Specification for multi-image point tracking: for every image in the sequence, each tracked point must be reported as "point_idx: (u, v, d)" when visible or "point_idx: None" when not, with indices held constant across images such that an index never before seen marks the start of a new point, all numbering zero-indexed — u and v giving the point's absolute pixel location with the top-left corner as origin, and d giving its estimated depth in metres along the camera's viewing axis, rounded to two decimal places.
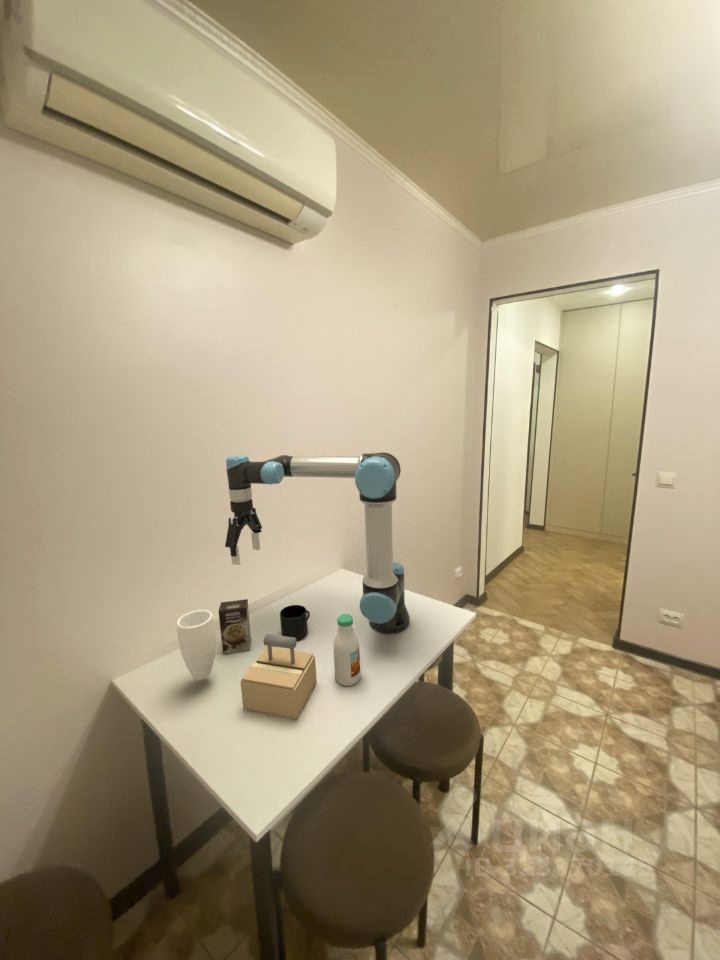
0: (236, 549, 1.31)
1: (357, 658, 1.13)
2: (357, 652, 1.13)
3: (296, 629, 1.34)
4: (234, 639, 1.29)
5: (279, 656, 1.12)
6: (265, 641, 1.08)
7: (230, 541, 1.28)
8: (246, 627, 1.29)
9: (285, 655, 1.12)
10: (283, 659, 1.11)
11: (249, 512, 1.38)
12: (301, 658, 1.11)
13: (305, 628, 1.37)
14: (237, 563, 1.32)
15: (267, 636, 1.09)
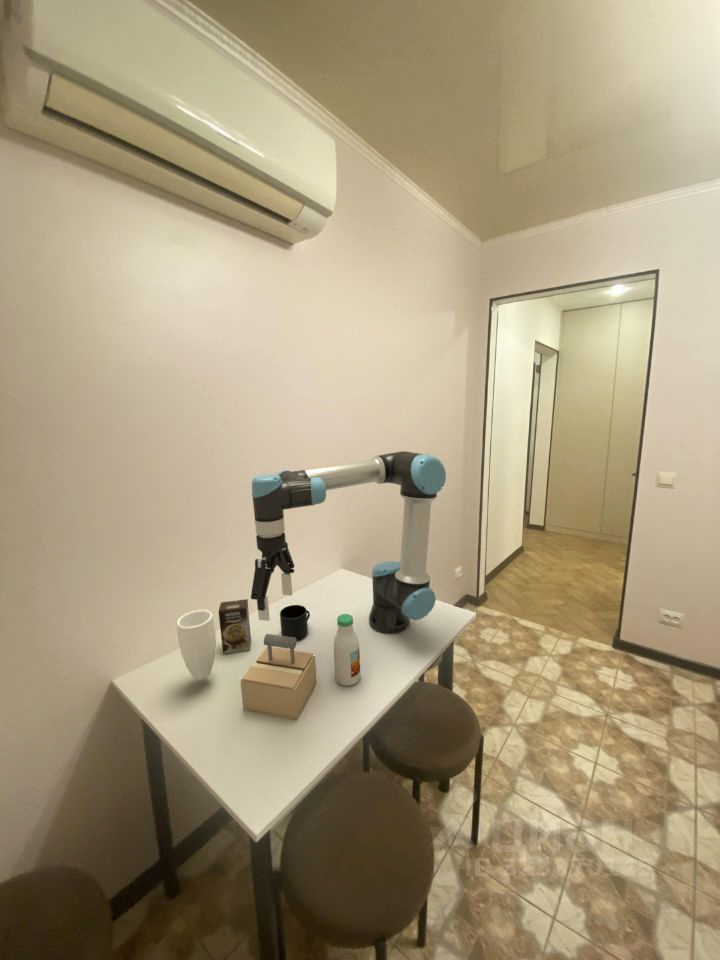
0: (265, 601, 0.99)
1: (357, 658, 1.13)
2: (357, 652, 1.13)
3: (296, 629, 1.34)
4: (234, 639, 1.29)
5: (279, 656, 1.12)
6: (265, 641, 1.08)
7: (257, 591, 0.96)
8: (246, 627, 1.29)
9: (285, 655, 1.12)
10: (283, 659, 1.11)
11: (280, 549, 1.06)
12: (301, 658, 1.11)
13: (305, 628, 1.37)
14: (266, 619, 1.00)
15: (267, 636, 1.09)
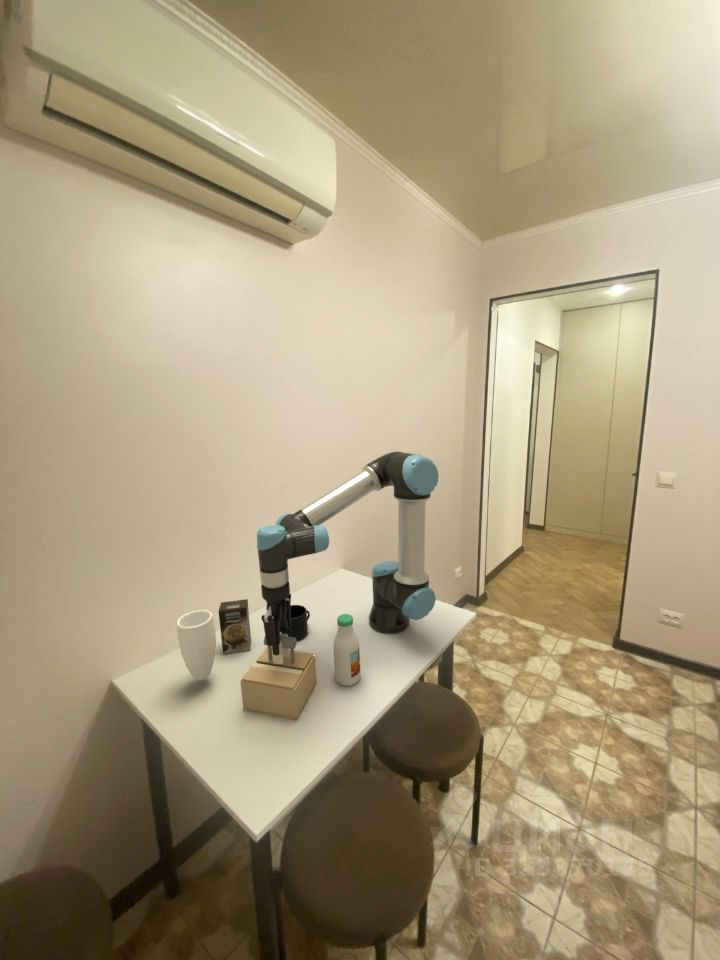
0: (279, 646, 1.06)
1: (357, 658, 1.13)
2: (357, 652, 1.13)
3: (296, 629, 1.34)
4: (234, 639, 1.29)
5: None
6: (265, 641, 1.08)
7: (272, 641, 1.03)
8: (246, 627, 1.29)
9: None
10: (283, 659, 1.11)
11: None
12: (301, 658, 1.11)
13: (305, 628, 1.37)
14: (280, 662, 1.07)
15: None
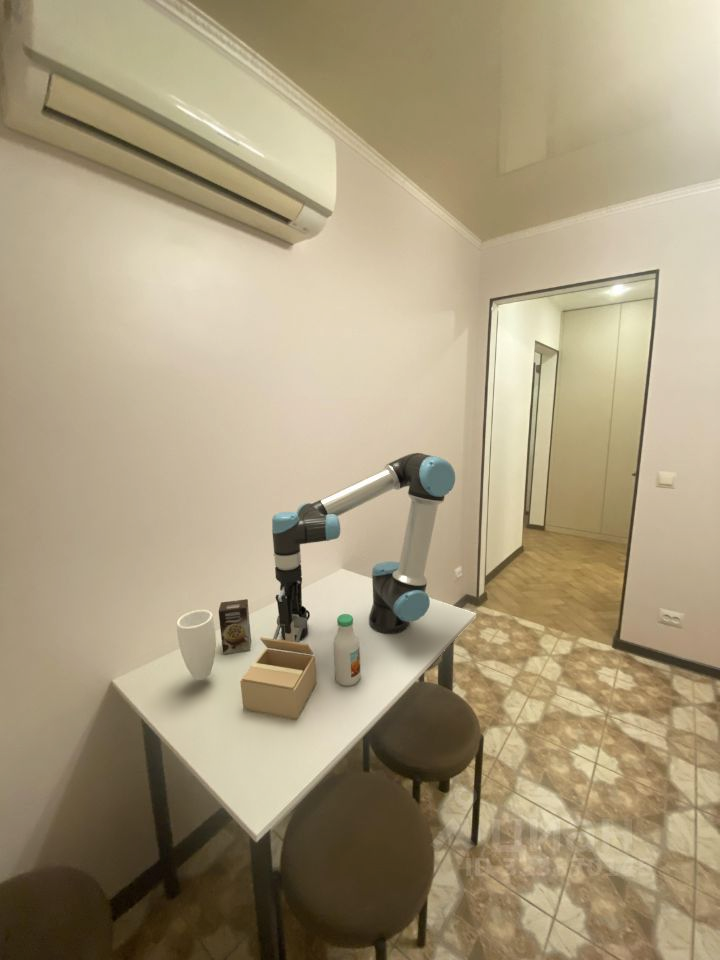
0: (291, 625, 1.14)
1: (357, 658, 1.13)
2: (357, 652, 1.13)
3: None
4: (234, 639, 1.29)
5: None
6: None
7: (284, 619, 1.10)
8: (246, 627, 1.29)
9: None
10: None
11: None
12: None
13: (305, 628, 1.37)
14: (291, 640, 1.15)
15: None
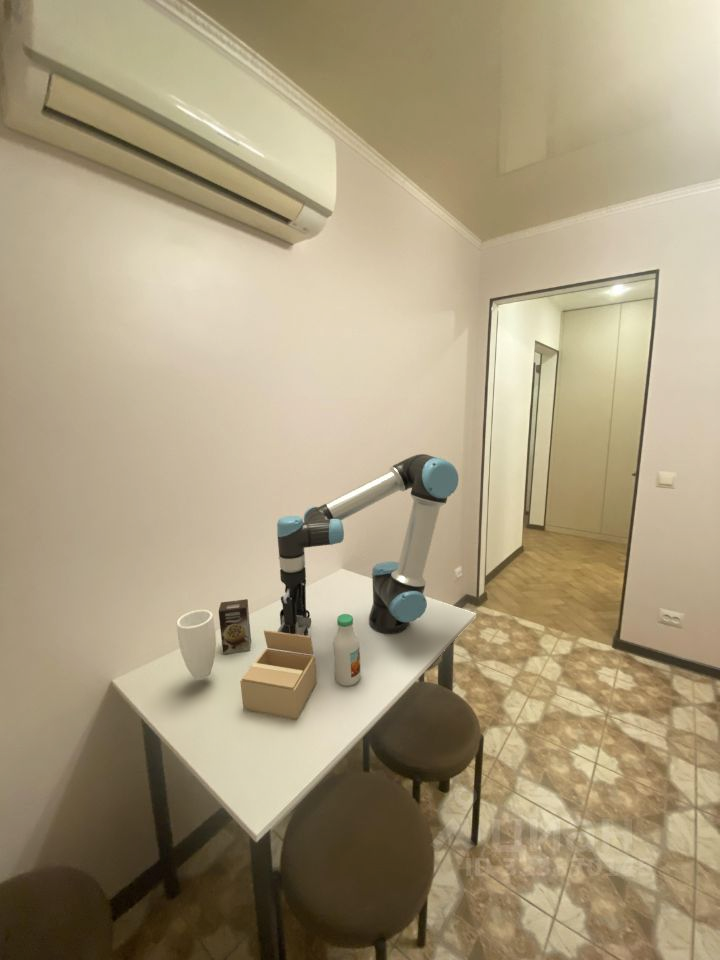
0: (296, 626, 1.17)
1: (357, 658, 1.13)
2: (357, 652, 1.13)
3: None
4: (234, 639, 1.29)
5: None
6: None
7: (289, 620, 1.13)
8: (246, 627, 1.29)
9: None
10: None
11: None
12: None
13: None
14: None
15: None
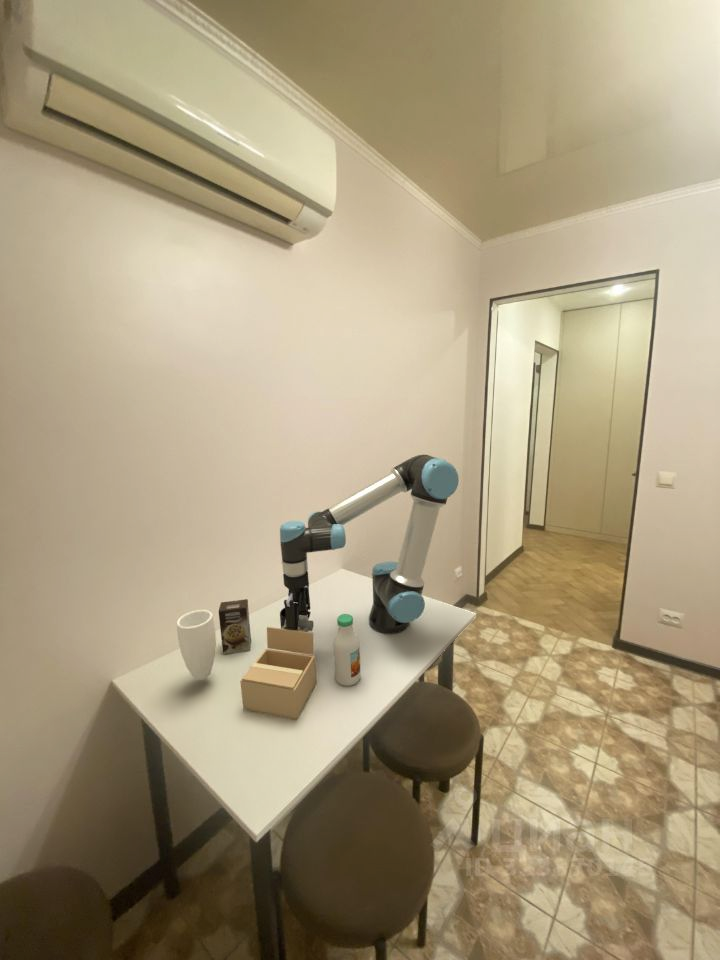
0: (297, 630, 1.18)
1: (357, 658, 1.13)
2: (357, 652, 1.13)
3: None
4: (234, 639, 1.29)
5: None
6: None
7: (291, 625, 1.14)
8: (246, 627, 1.29)
9: None
10: None
11: None
12: None
13: None
14: None
15: None
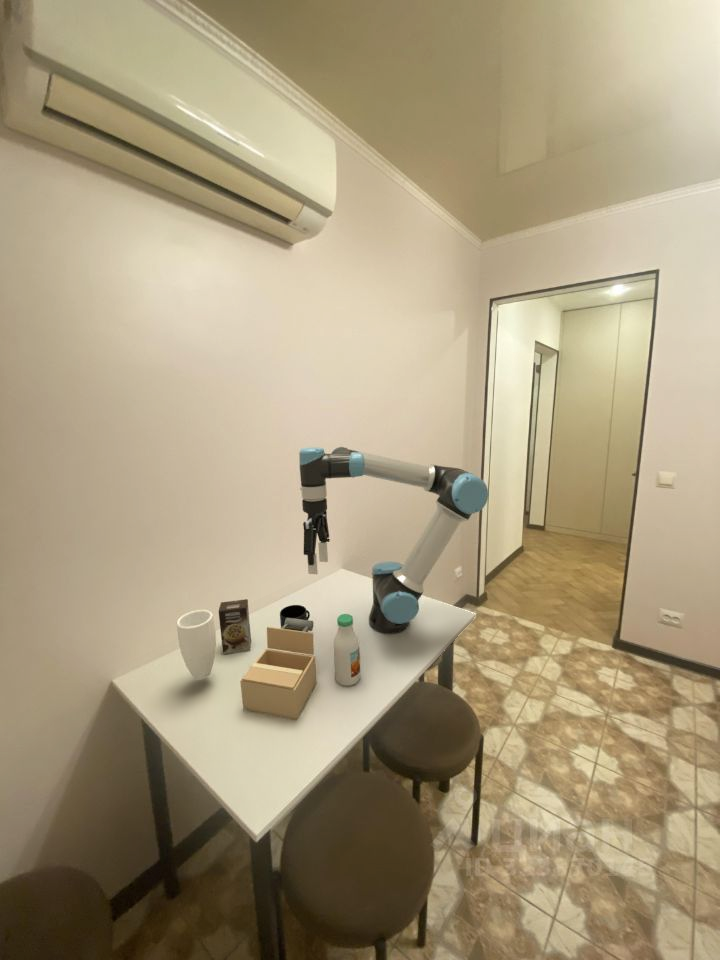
0: (314, 557, 1.16)
1: (357, 658, 1.13)
2: (357, 652, 1.13)
3: (296, 629, 1.34)
4: (234, 639, 1.29)
5: None
6: (288, 618, 1.22)
7: (309, 548, 1.13)
8: (246, 627, 1.29)
9: None
10: None
11: (321, 512, 1.21)
12: None
13: None
14: (314, 572, 1.18)
15: None
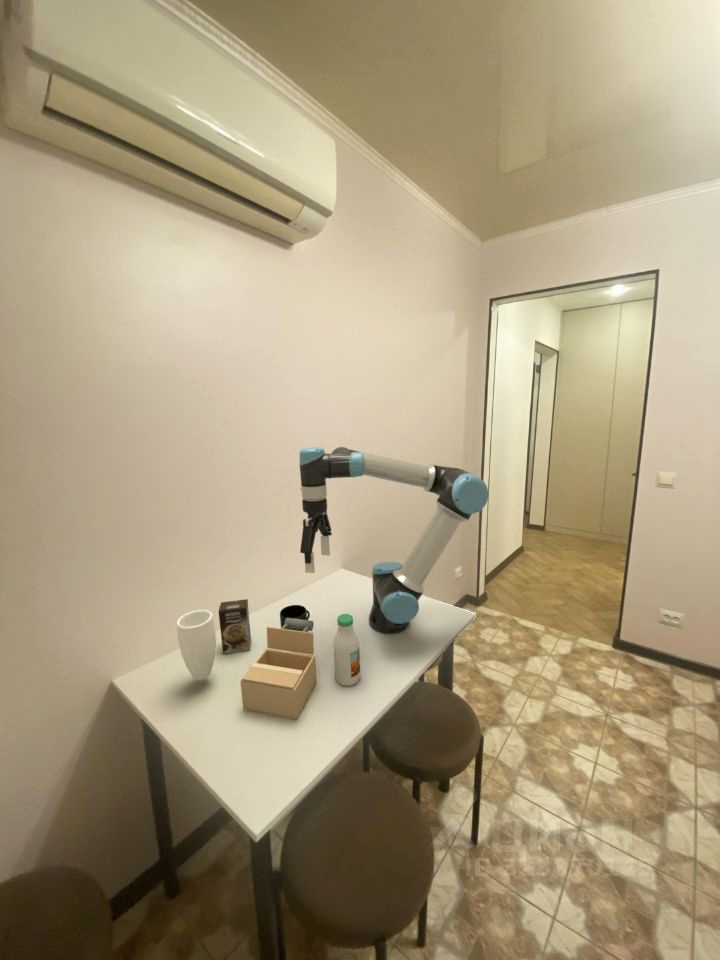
0: (311, 555, 1.14)
1: (357, 658, 1.13)
2: (357, 652, 1.13)
3: (296, 629, 1.34)
4: (234, 639, 1.29)
5: None
6: (288, 618, 1.22)
7: (306, 546, 1.11)
8: (246, 627, 1.29)
9: None
10: None
11: (321, 512, 1.21)
12: None
13: None
14: (312, 571, 1.15)
15: None
